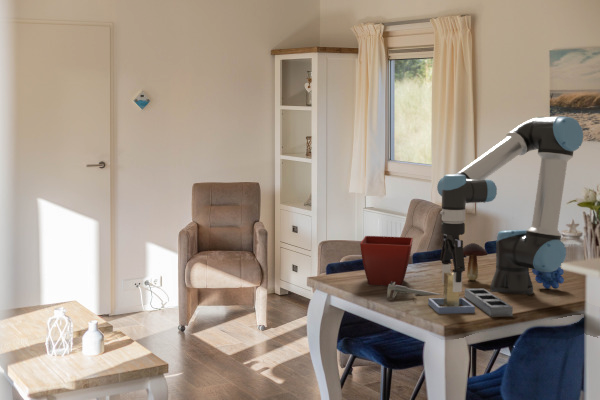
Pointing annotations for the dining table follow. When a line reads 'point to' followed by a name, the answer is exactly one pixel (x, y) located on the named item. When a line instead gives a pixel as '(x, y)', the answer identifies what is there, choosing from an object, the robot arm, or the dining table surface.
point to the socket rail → (488, 302)
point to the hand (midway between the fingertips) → (451, 287)
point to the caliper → (406, 290)
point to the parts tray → (465, 308)
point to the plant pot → (385, 259)
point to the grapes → (549, 278)
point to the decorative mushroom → (473, 259)
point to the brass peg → (449, 292)
